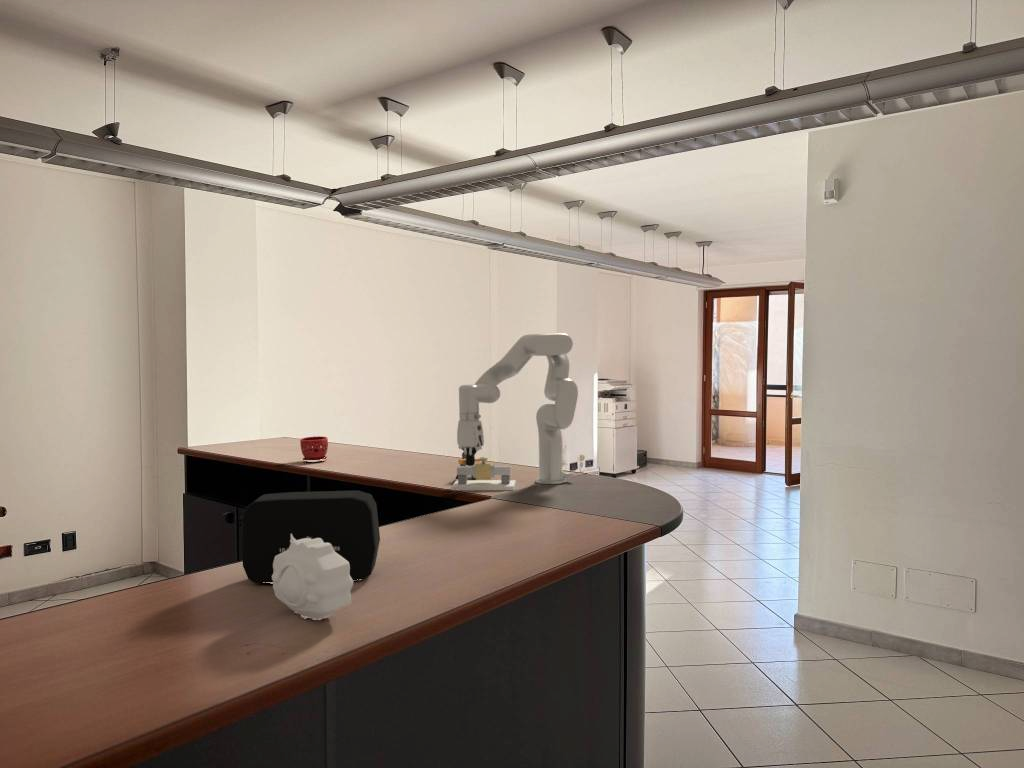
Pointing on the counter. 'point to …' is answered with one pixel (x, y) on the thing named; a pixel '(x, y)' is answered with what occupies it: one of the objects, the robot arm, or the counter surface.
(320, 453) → the plant pot
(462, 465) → the dark grey tall piece
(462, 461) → the valve lever
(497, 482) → the board
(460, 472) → the valve pipe
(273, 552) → the black hard case
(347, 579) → the white lumpy lump
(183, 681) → the counter surface
